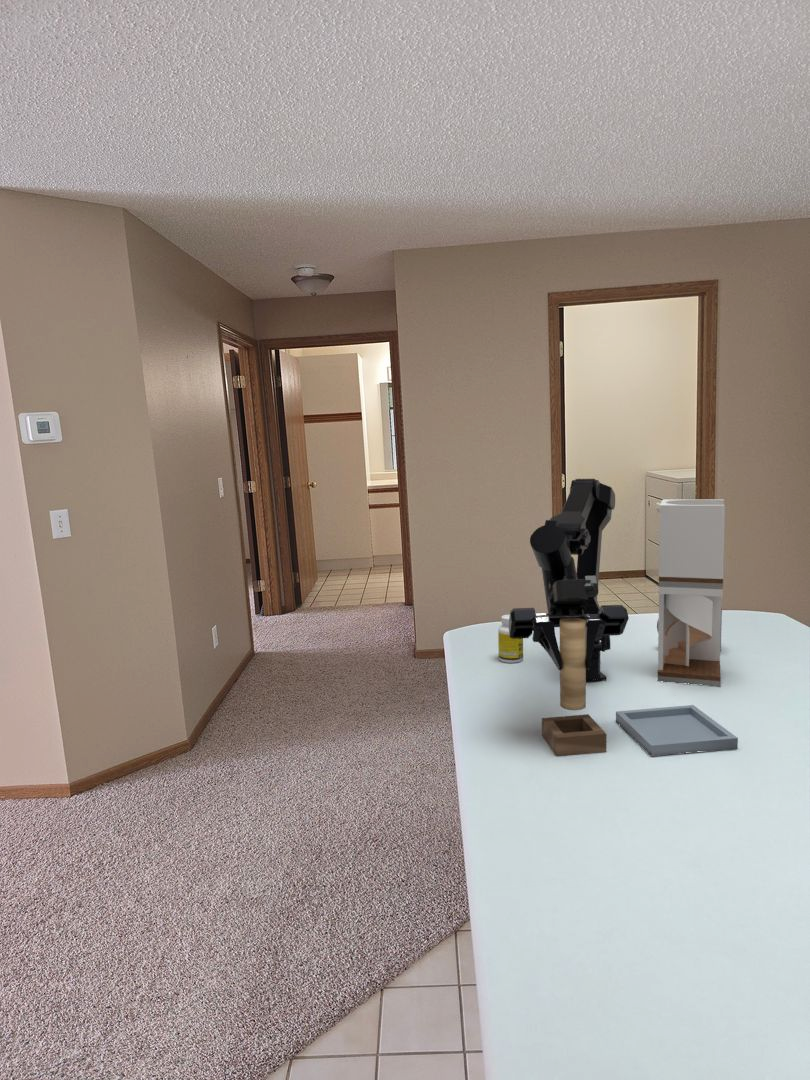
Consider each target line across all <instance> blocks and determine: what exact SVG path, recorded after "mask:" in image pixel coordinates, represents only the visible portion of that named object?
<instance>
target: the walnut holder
mask: <svg viewBox="0 0 810 1080" xmlns="http://www.w3.org/2000/svg"><path fill="white" fill-rule="evenodd" d="M541 736H542V737H543V739H544V741H545V742H546V743H547V745H548V746H549V747H550V749H551V750H552V752H553V753H554V754H555V756H556V757H562V756H574V755H584V754H598V753H605V752H607V733H606V731H605V730H603V728H602V727H601V726H600V725H599V724H598V723H597V722H596V721H595V720H594V719H593V717H591V715H590V714H588V713H586V714H575V715H562V716H550V717H541Z"/></svg>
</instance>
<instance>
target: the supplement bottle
mask: <svg viewBox="0 0 810 1080" xmlns="http://www.w3.org/2000/svg"><path fill="white" fill-rule="evenodd" d="M509 617H510V614H504V615H502V616H501V620H500V621H501V625H500V626H499V627H498V631H497V632H498V633H497V636H498V637H497V638H498V642H497V643H498V659H499V661H501V662H502V663H507V664H515V663H520V662H522V661H523V660H524V638H517V639H512V638H510V636H509Z"/></svg>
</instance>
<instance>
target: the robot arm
mask: <svg viewBox="0 0 810 1080" xmlns="http://www.w3.org/2000/svg"><path fill="white" fill-rule="evenodd" d="M570 483H571V484H570V487H569V492H568V493H569V494H568V496H567V497H566V500H565V503H564V505H563V508H562V510H561V512H560V513H559V514H557V515H554V516H552V517H550V519H545V522H544V525H541V526H539V527H538V528H536V529H535V530H534V531H533V533H532V534H531V535H530V538H529V543H530V546H531V549H532V552H533V555H534V557H535V559H536V562H537V565H538V567H539V568H541V574H542V579H543V586H544V594H545V595H544V596H545V603H546V609H547V612H546V613H543V612H542V613H541V612H540V613H536V609H535V608H534V607H514V608H512V610H510V611H509V612H510V613H509V615H510V617H509V636H510V638H512V639H517V638H523V639H529V638H530V637H531V636H532V642H534V643H538V644H540V646H541V647H542V648H543V649H544V651H545V652H546V653H547V654H548V655H549V657H550V658H551V660H552V662H553V664H554V665H555V667H556V668H557V669H558V671H560V670H562V662H561V656H560V647H559V645H558V640H557V637H556V632H555V628H560V619H563V618H581V619H584V620H585V621H586V682H592V681H603V680H604V681H605V680H607V679H608V678H607V676H606V675H605V674H604V673H603V672H602V671H601V652H604V653H605V652H606V651H608V650H609V651H610V650H611V637H613V636H620V635H623V633H624V632H625V629H626V626H627V623H628V621H629V619H630V617H629V614H628V609H627V608H626V607H625V606H623V605H622V604H611V605H609V604H607V605H602V604H601V605H600V604H599V602H598V595H599V579H600V578H599V577H600V568H601V567H600V565H601V564H600V563H601V551H602V538H603V537H602V536H603V531H604V529H605V528H606V526H607V525H608V524H609V522H611V520H612V512H613V510H615V506H616V494H615V491H614V490H613V488H612V487H611V486H609V485H606V484H604V483H601V482H600V481H599V479H595V478H575V479H573V480H571V482H570ZM573 556H577V560H576V561H577V562H576V563H575V559H574V557H573Z"/></svg>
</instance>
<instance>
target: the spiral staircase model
mask: <svg viewBox="0 0 810 1080" xmlns="http://www.w3.org/2000/svg"><path fill="white" fill-rule="evenodd" d="M724 503H725V499H715V498H714V499H710V498H709V499H706V498H705V499H702V498H701V499H700V498H699V499H694V498H693V499H675V498H674V499H662V501H661V502H660V504H659V522H658V523H659V524H658V525H659V527H658V528H659V532H658V619H659V632H658V631H657V634H658V637H657V638H658V644H657V645H658V646H657V648H658V649H657V651H658V652H657V682H658V681H663V682H662V683H667V682H675V683H674V684H679V683H687V684H686V685H690V684H702V685H709V686H708V687H713V686H716V688H721V684H722V683H721V682H722V681H721V680H722V677H721V676H722V675H721V653H720V636H721V637H722V625H721V607H722V597H724V596H723V595H724V594H723V593H724V562H725V561H724V556H725V555H724V554H725V525H726V524H725V523H726V522H725V519H726V518H725V517H726V516H725V515H726V514H725V513H726V505H725V504H724ZM688 683H689V684H688ZM702 685H701V686H702Z"/></svg>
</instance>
